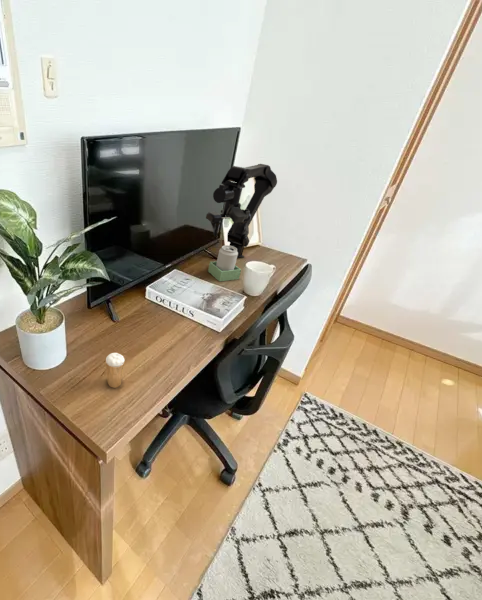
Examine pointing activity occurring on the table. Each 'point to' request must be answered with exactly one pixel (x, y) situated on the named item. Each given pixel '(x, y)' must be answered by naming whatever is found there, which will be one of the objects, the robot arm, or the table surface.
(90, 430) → the table surface
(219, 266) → the can
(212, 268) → the bin
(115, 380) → the milkshake
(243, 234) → the robot arm
